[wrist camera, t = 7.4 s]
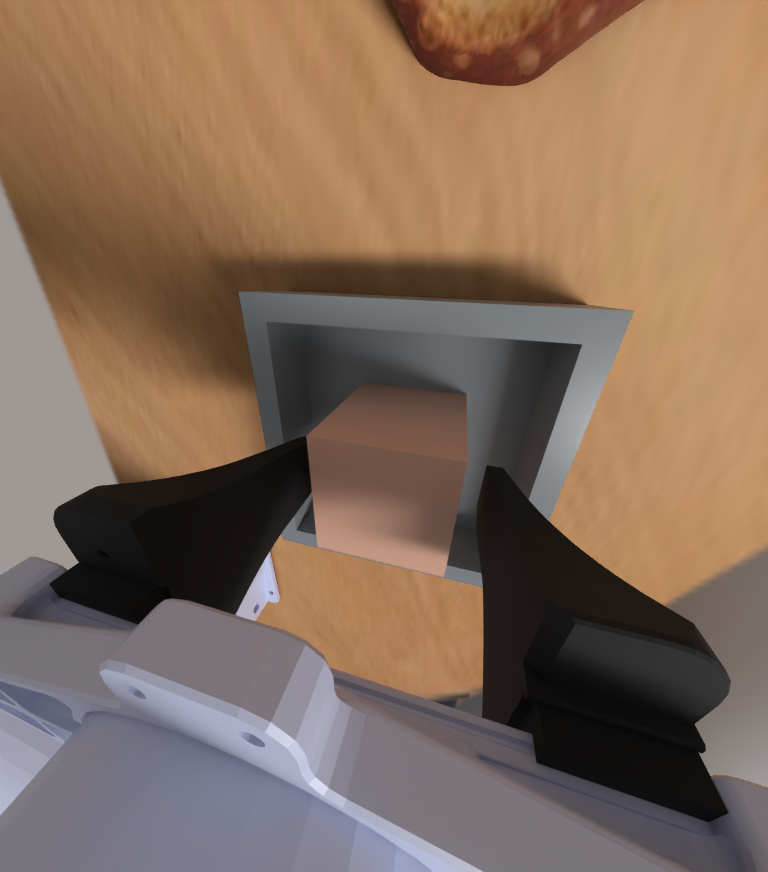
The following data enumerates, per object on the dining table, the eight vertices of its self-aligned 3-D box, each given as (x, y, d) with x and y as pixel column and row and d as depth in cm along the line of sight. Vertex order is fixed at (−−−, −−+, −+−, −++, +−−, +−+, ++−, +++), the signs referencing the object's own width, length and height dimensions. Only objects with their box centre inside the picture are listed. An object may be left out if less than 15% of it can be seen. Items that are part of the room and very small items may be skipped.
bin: (508, 542, 17) (518, 596, 14) (310, 501, 20) (282, 539, 17) (588, 305, 11) (633, 310, 8) (288, 290, 14) (238, 291, 11)
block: (451, 481, 16) (444, 577, 10) (363, 466, 17) (317, 546, 11) (466, 394, 13) (467, 461, 8) (363, 382, 14) (306, 436, 9)
